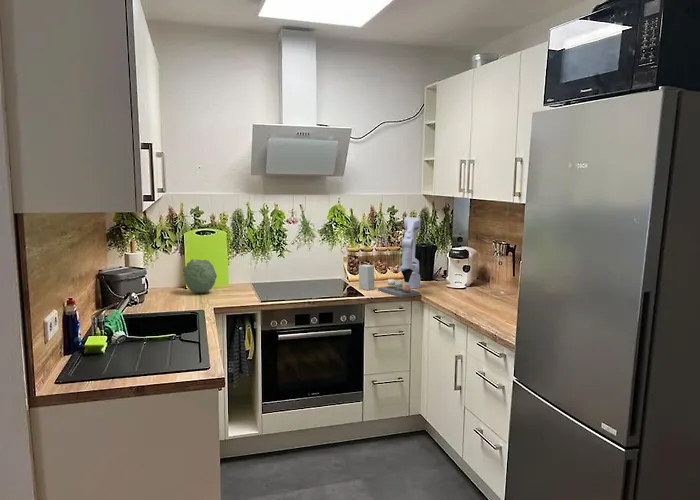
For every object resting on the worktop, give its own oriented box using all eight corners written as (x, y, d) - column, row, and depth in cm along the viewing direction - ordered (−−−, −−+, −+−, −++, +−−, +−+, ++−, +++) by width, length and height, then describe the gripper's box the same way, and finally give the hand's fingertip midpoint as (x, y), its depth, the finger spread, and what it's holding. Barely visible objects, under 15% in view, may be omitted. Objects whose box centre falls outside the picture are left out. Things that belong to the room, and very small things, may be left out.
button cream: (392, 283, 310) (392, 278, 310) (396, 284, 307) (396, 280, 306) (386, 284, 308) (386, 279, 308) (390, 285, 304) (391, 280, 304)
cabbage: (215, 295, 288) (214, 261, 285) (180, 296, 285) (179, 261, 283) (219, 290, 303) (218, 257, 300) (186, 290, 301) (185, 257, 298)
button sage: (399, 285, 305) (399, 280, 304) (404, 286, 301) (404, 281, 301) (393, 286, 302) (393, 281, 302) (398, 287, 299) (398, 282, 298)
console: (396, 288, 315) (396, 284, 315) (419, 295, 297) (420, 291, 297) (378, 290, 307) (378, 287, 307) (401, 297, 289) (401, 294, 289)
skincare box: (374, 289, 311) (375, 265, 309) (367, 290, 307) (368, 266, 305) (364, 287, 317) (365, 263, 315) (358, 288, 313) (358, 264, 311)
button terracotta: (406, 289, 299) (407, 284, 299) (411, 291, 295) (411, 286, 295) (401, 290, 297) (401, 285, 296) (406, 291, 293) (406, 286, 293)
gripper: (409, 256, 302) (408, 279, 303) (394, 259, 291) (393, 282, 293) (419, 258, 297) (418, 281, 299) (404, 260, 286) (403, 284, 288)
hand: (406, 282), depth 295 cm, fingers closed
